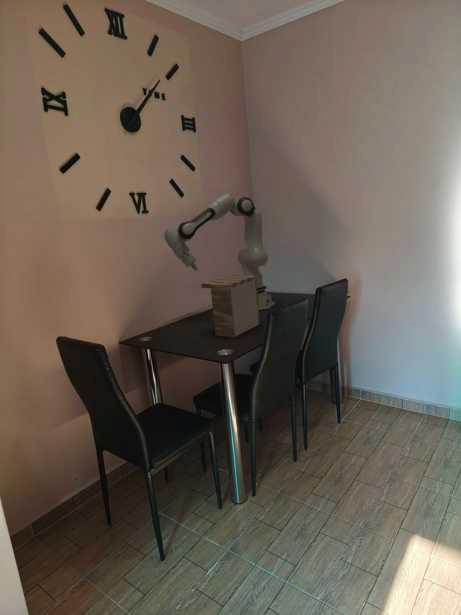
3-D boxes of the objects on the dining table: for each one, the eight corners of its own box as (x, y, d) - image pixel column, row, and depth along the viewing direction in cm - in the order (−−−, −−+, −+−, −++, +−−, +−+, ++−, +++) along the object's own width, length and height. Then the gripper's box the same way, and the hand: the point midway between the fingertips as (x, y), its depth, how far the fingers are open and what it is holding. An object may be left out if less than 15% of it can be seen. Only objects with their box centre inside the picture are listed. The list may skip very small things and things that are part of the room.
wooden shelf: (234, 321, 243) (230, 275, 237) (260, 323, 232) (256, 275, 226) (207, 334, 223) (201, 284, 216) (233, 337, 212) (228, 285, 206)
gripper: (188, 246, 239) (203, 265, 241) (185, 251, 259) (198, 268, 260) (180, 252, 238) (194, 271, 239) (177, 257, 258) (190, 274, 259)
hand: (196, 270), depth 250 cm, fingers closed
